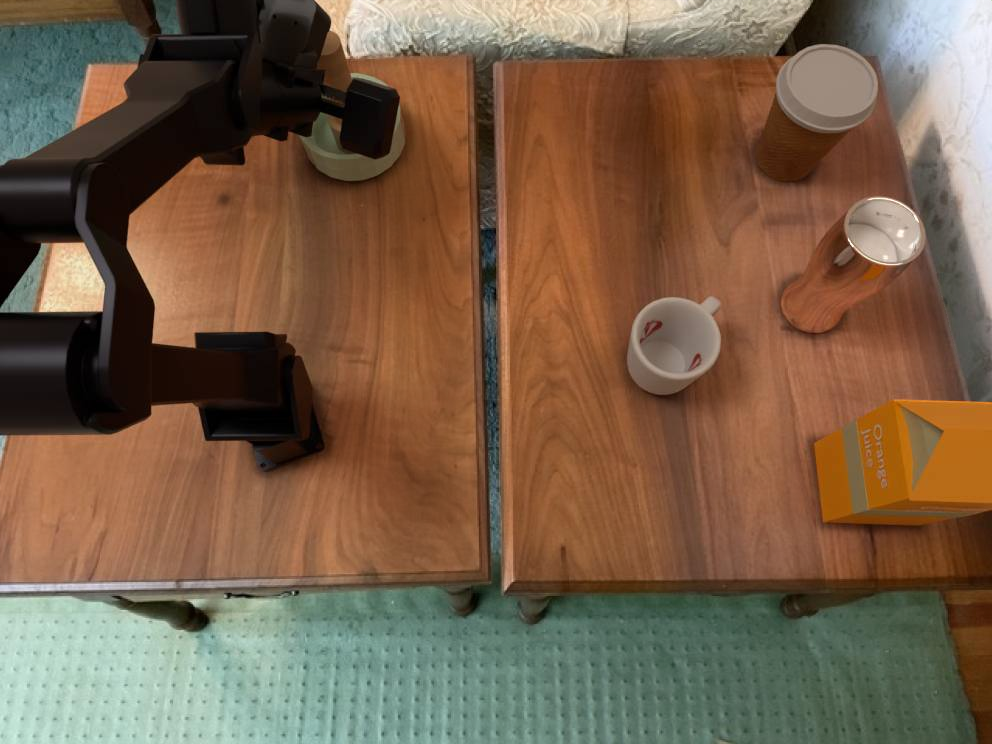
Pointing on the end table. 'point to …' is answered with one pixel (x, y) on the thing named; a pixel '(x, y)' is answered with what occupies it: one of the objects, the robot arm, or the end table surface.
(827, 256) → the beer glass
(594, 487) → the end table surface
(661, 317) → the cup
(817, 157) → the disposable coffee cup
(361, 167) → the bowl
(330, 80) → the rod
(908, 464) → the orange juice
